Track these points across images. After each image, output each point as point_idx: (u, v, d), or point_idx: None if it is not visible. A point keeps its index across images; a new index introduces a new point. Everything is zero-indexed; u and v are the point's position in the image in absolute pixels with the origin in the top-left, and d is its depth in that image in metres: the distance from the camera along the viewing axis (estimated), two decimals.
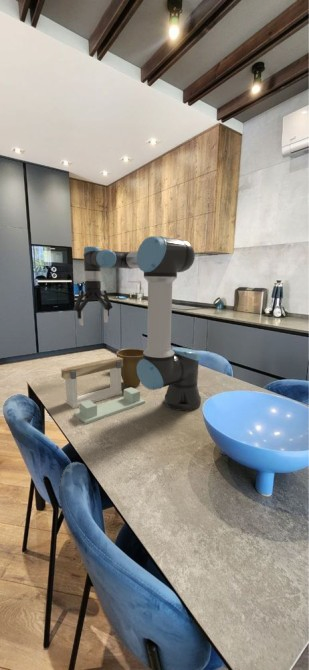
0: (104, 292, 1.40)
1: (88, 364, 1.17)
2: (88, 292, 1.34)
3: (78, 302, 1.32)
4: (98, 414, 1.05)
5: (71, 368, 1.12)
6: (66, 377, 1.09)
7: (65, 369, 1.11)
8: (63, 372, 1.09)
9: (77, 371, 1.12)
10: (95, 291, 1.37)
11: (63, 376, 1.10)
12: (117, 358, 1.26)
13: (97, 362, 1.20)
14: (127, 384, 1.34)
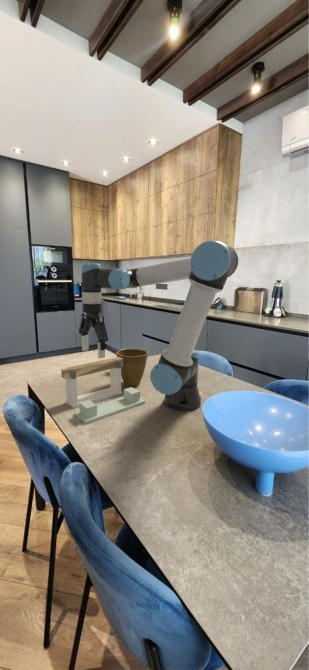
0: (97, 319, 1.10)
1: (88, 364, 1.17)
2: (86, 316, 1.16)
3: (80, 324, 1.21)
4: (98, 414, 1.05)
5: (71, 368, 1.12)
6: (66, 377, 1.09)
7: (65, 369, 1.11)
8: (63, 372, 1.09)
9: (77, 371, 1.12)
10: (90, 316, 1.13)
11: (63, 376, 1.10)
12: (117, 358, 1.26)
13: (97, 362, 1.20)
14: (127, 384, 1.34)
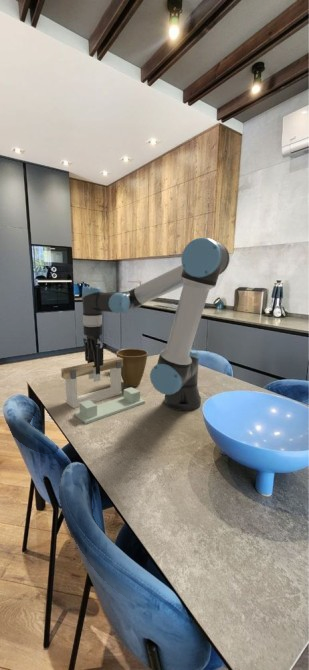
0: (97, 345, 1.12)
1: (88, 364, 1.17)
2: (87, 337, 1.18)
3: None
4: (98, 414, 1.05)
5: (71, 368, 1.12)
6: (66, 377, 1.09)
7: (65, 369, 1.11)
8: (63, 372, 1.09)
9: (77, 371, 1.12)
10: (92, 335, 1.14)
11: (63, 376, 1.10)
12: (117, 358, 1.26)
13: None
14: (127, 384, 1.34)
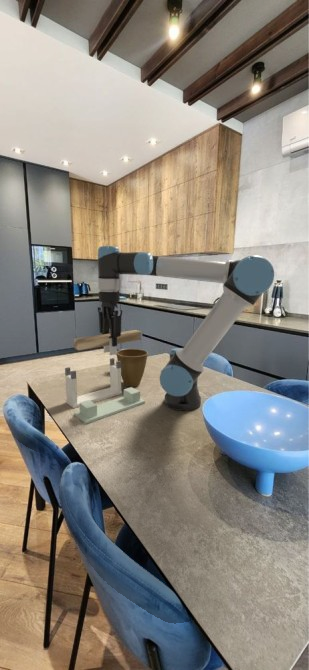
0: (114, 312, 0.99)
1: (103, 335, 1.04)
2: (102, 305, 1.05)
3: (99, 322, 1.08)
4: (98, 414, 1.05)
5: (85, 338, 0.99)
6: (80, 347, 0.97)
7: (78, 338, 0.98)
8: (77, 342, 0.97)
9: (92, 342, 0.99)
10: (108, 302, 1.02)
11: (76, 347, 0.98)
12: (134, 331, 1.13)
13: None
14: (127, 384, 1.34)
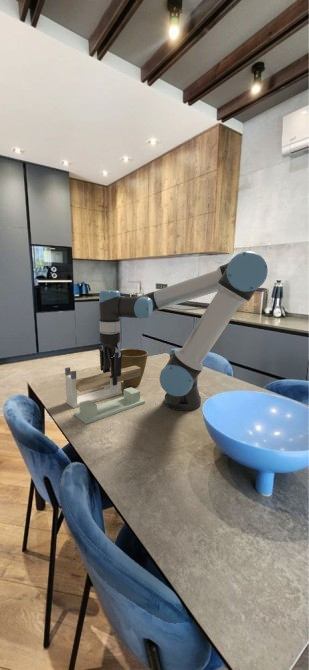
0: (115, 354, 1.02)
1: (104, 374, 1.07)
2: (103, 345, 1.08)
3: (100, 360, 1.11)
4: (98, 414, 1.05)
5: (87, 379, 1.02)
6: (81, 389, 1.00)
7: (80, 380, 1.01)
8: (78, 383, 1.00)
9: (93, 382, 1.02)
10: (109, 343, 1.05)
11: (78, 388, 1.01)
12: (134, 367, 1.16)
13: None
14: (127, 384, 1.34)
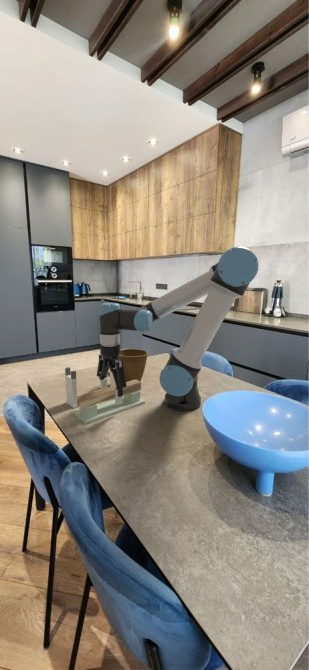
0: (116, 364, 1.03)
1: (105, 390, 1.09)
2: (103, 357, 1.09)
3: None
4: (98, 414, 1.05)
5: (87, 395, 1.03)
6: (82, 406, 1.01)
7: (81, 396, 1.03)
8: (79, 400, 1.01)
9: (94, 398, 1.04)
10: (109, 357, 1.06)
11: (79, 404, 1.02)
12: (135, 381, 1.18)
13: (114, 387, 1.12)
14: None
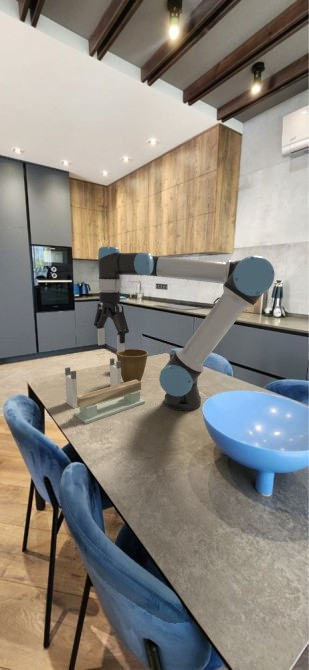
0: (116, 309, 0.99)
1: (105, 390, 1.09)
2: (103, 306, 1.05)
3: None
4: (98, 414, 1.05)
5: (87, 395, 1.03)
6: (82, 406, 1.01)
7: (81, 396, 1.03)
8: (79, 400, 1.01)
9: (94, 398, 1.04)
10: (108, 306, 1.02)
11: (79, 404, 1.02)
12: (135, 381, 1.18)
13: (114, 387, 1.12)
14: None
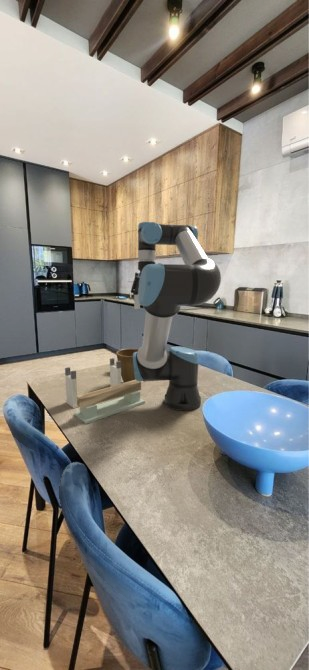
0: None
1: (105, 390, 1.09)
2: (140, 274, 1.24)
3: None
4: (98, 414, 1.05)
5: (87, 395, 1.03)
6: (82, 406, 1.01)
7: (81, 396, 1.03)
8: (79, 400, 1.01)
9: (94, 398, 1.04)
10: None
11: (79, 404, 1.02)
12: (135, 381, 1.18)
13: (114, 387, 1.12)
14: None
